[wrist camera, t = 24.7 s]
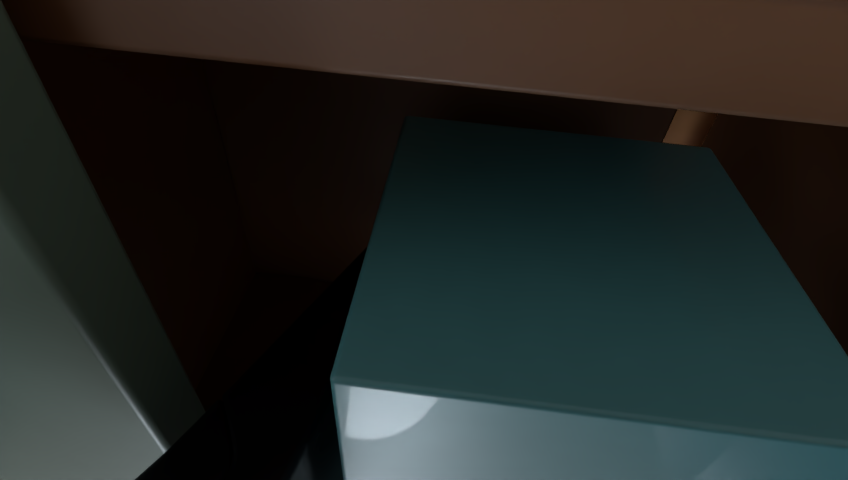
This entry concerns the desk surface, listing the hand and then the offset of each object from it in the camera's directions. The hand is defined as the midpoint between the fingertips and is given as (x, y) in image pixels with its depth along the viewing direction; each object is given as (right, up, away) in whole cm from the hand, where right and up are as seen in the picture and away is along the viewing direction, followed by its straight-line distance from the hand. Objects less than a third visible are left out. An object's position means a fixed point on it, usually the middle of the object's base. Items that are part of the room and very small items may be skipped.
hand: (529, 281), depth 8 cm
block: (0, +1, +1) cm, 1 cm away
